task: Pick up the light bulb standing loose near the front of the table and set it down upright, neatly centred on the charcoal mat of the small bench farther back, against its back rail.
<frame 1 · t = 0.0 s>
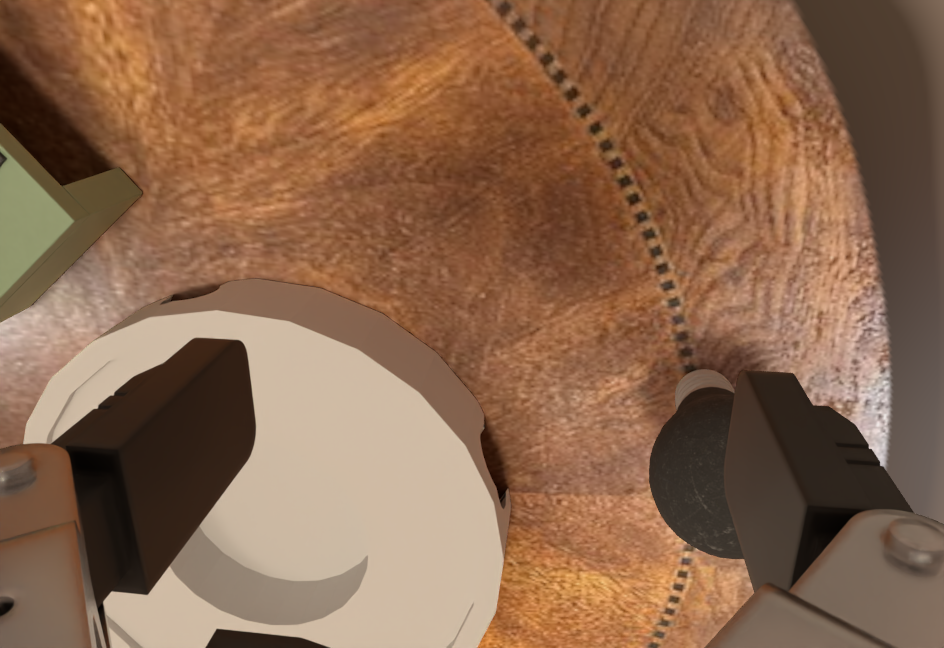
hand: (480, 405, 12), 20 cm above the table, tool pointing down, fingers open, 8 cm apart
light bulb: (699, 383, 34), on the table
beige round base: (287, 490, 39), on the table
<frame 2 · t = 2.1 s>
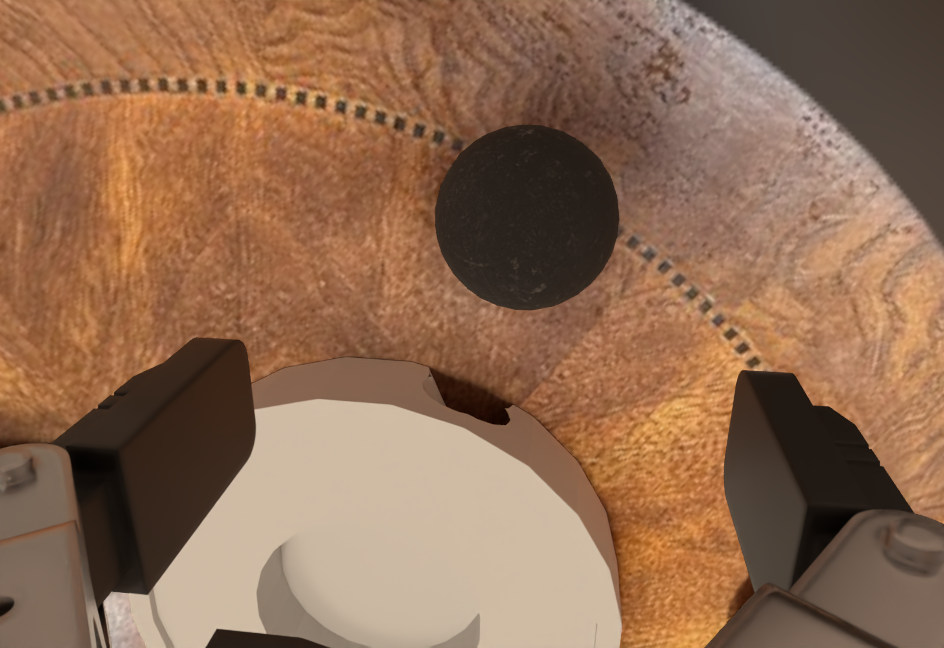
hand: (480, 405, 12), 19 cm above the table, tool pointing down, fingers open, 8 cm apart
light bulb: (537, 171, 30), on the table
beige round base: (385, 561, 38), on the table
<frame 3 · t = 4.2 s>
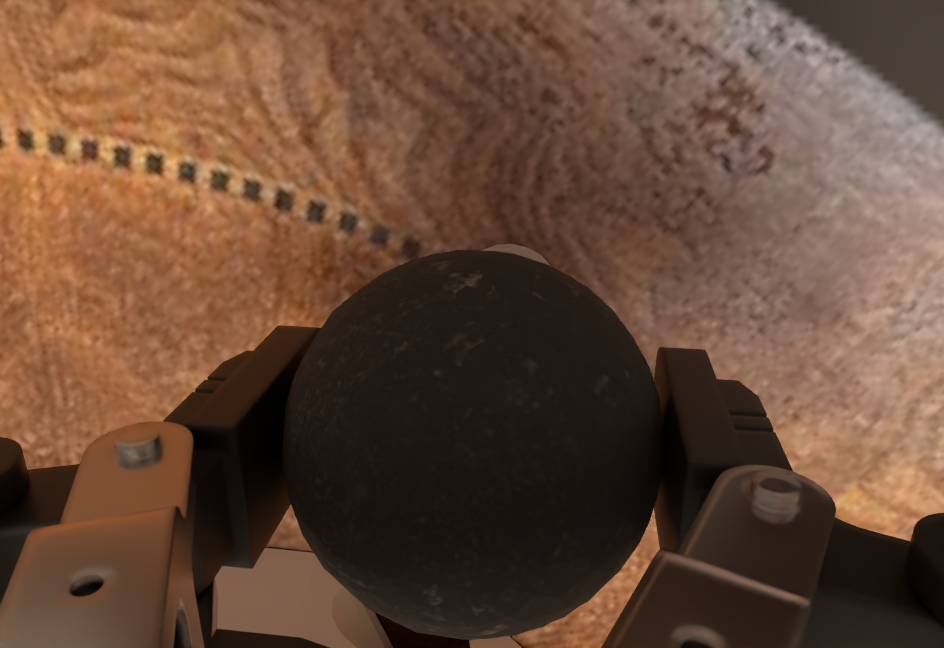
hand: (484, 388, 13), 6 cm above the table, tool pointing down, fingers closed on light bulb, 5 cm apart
light bulb: (511, 279, 18), on the table, touching gripper
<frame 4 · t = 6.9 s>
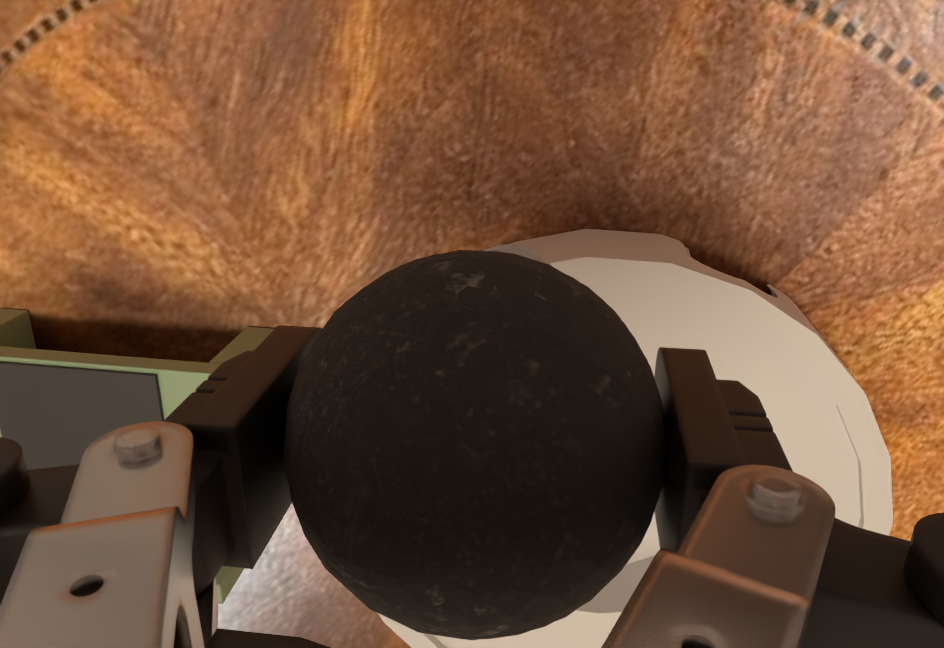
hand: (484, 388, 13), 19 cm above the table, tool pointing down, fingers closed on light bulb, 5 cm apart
bench: (149, 402, 37), on the table
light bulb: (512, 279, 18), point 14 cm above the table, touching gripper
beige round base: (595, 466, 36), on the table
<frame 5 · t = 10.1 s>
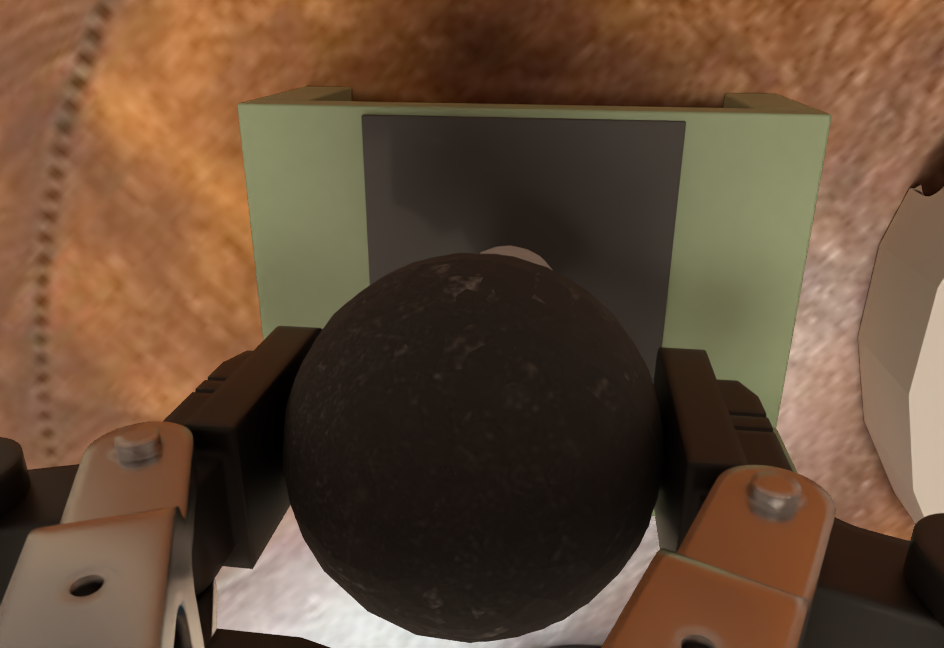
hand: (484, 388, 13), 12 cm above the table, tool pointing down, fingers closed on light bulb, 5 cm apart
bench: (527, 237, 24), on the table
light bulb: (511, 281, 18), point 6 cm above the table, touching gripper
when the fingers open (11 cm above the table, at t = 11.0 s): light bulb stays where it is, resting on bench.
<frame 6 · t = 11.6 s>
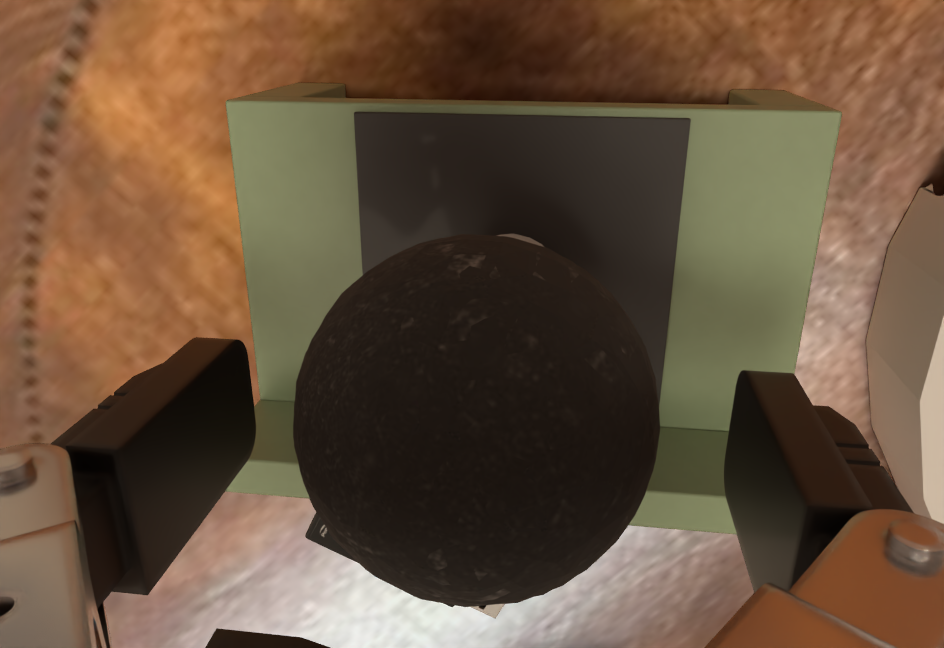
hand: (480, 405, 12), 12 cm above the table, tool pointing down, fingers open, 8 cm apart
bench: (526, 237, 23), on the table
usb flash drive: (414, 546, 29), on the table
light bulb: (513, 269, 19), point 5 cm above the table, touching bench
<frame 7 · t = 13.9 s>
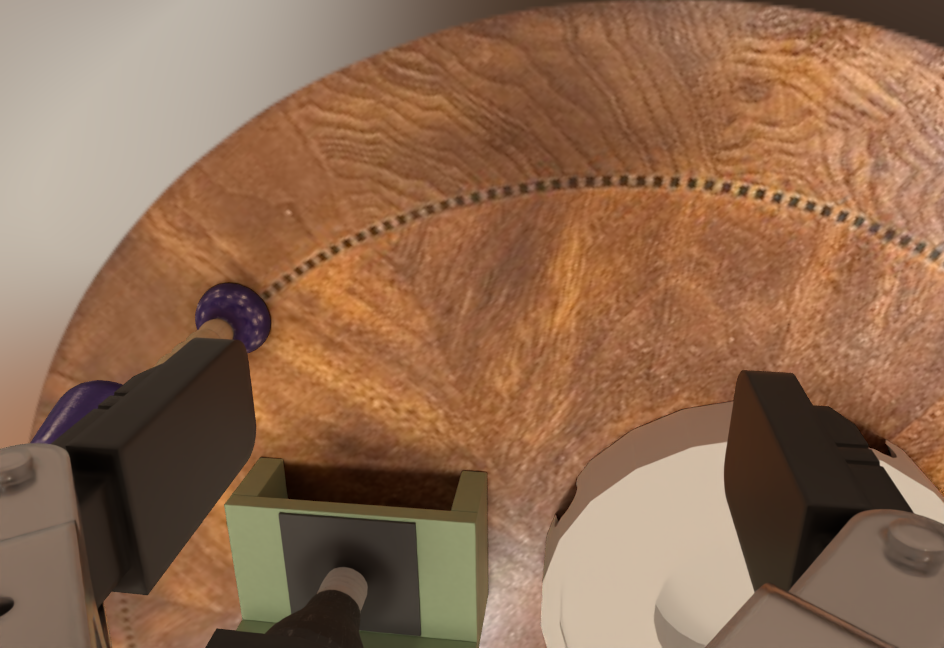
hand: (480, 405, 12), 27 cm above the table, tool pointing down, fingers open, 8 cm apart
bench: (375, 526, 47), on the table
light bulb: (351, 572, 42), point 5 cm above the table, touching bench
toy lamp: (242, 318, 43), on the table
beige round base: (740, 574, 45), on the table
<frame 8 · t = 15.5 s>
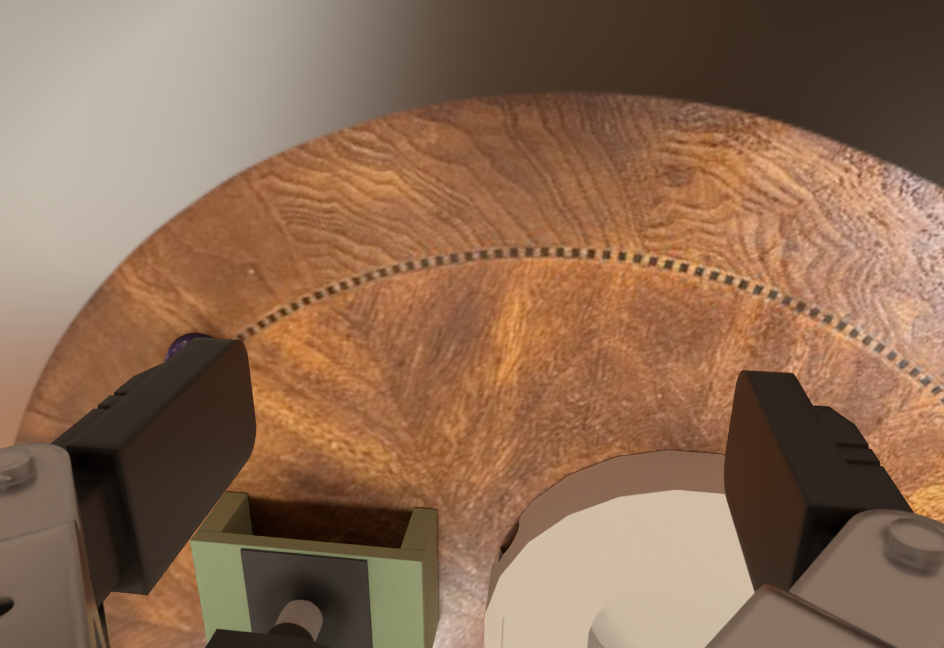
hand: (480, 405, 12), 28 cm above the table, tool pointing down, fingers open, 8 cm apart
bench: (334, 556, 50), on the table
light bulb: (308, 603, 45), point 5 cm above the table, touching bench
toy lamp: (209, 365, 46), on the table
beige round base: (670, 604, 48), on the table
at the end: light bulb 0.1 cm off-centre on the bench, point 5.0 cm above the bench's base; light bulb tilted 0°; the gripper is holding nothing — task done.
